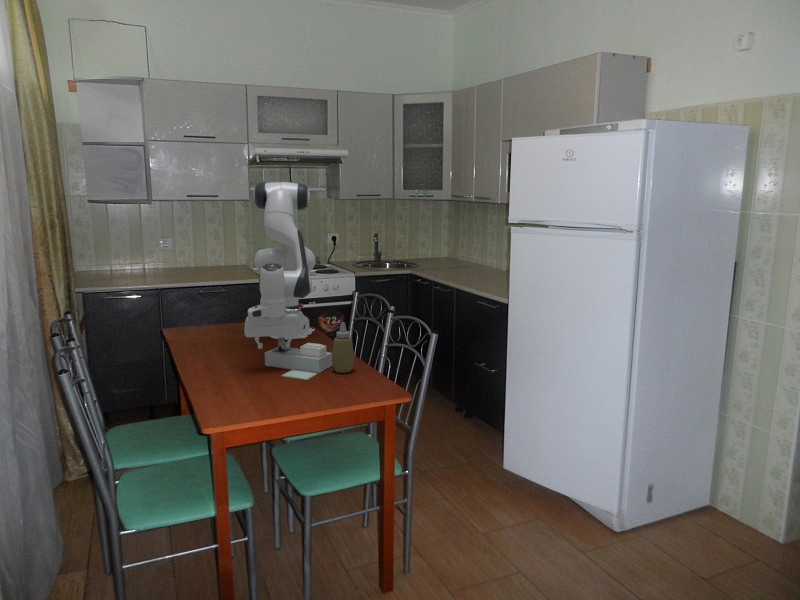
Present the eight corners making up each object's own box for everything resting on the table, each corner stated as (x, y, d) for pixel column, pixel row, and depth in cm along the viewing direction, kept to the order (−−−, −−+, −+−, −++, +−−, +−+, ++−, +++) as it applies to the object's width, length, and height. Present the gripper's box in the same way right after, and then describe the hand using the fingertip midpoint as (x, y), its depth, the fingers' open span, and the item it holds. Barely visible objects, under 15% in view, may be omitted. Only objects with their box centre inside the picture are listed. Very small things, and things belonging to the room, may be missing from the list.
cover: (307, 351, 226) (307, 341, 225) (326, 353, 223) (326, 344, 222) (300, 354, 221) (300, 344, 220) (319, 357, 218) (319, 347, 217)
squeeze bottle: (354, 374, 216) (354, 324, 213) (331, 374, 215) (331, 324, 212) (354, 367, 224) (354, 319, 221) (332, 367, 223) (332, 319, 220)
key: (284, 348, 228) (284, 337, 227) (287, 355, 219) (287, 343, 218) (277, 348, 227) (277, 337, 227) (280, 355, 218) (280, 343, 217)
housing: (279, 358, 234) (279, 345, 233) (332, 365, 226) (332, 352, 225) (265, 365, 224) (264, 351, 223) (319, 373, 216) (318, 358, 215)
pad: (292, 370, 219) (292, 369, 219) (316, 374, 215) (316, 373, 215) (281, 376, 212) (281, 375, 212) (306, 380, 209) (306, 378, 209)
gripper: (301, 307, 222) (301, 343, 225) (243, 309, 216) (244, 347, 219) (303, 310, 216) (304, 348, 219) (244, 312, 210) (245, 351, 213)
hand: (273, 347), depth 219 cm, fingers open, 8 cm apart
